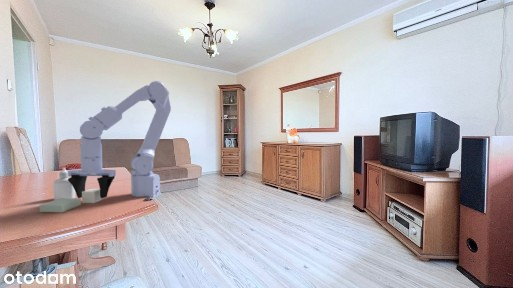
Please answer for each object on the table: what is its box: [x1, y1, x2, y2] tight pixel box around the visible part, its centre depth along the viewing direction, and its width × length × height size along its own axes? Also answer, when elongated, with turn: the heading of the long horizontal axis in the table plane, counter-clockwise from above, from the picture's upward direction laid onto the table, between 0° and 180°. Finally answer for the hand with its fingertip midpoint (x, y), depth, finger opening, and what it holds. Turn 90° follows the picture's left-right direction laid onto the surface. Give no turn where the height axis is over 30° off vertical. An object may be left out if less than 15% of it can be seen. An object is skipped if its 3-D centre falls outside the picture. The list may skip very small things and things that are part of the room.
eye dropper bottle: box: [53, 167, 76, 201], centre depth 75 cm, size 4×6×12 cm
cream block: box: [81, 188, 104, 204], centre depth 72 cm, size 4×4×5 cm
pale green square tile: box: [35, 203, 86, 214], centre depth 65 cm, size 8×8×2 cm
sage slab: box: [39, 197, 82, 212], centre depth 65 cm, size 6×6×2 cm
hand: (92, 197), depth 72 cm, fingers open, 7 cm apart
